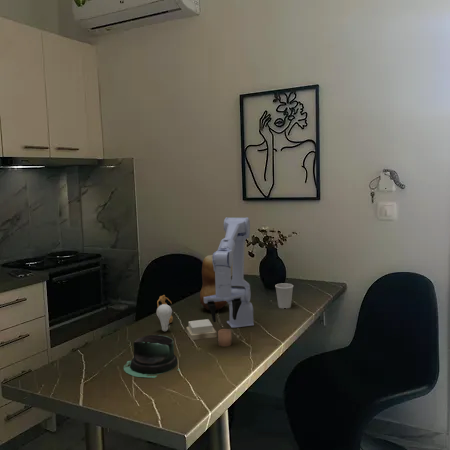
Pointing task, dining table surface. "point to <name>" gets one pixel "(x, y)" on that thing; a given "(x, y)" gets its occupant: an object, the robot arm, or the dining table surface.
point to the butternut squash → (209, 283)
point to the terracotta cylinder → (224, 337)
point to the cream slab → (200, 326)
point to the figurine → (162, 299)
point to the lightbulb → (164, 315)
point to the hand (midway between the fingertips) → (224, 320)
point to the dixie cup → (284, 294)
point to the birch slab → (201, 334)
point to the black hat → (152, 356)
